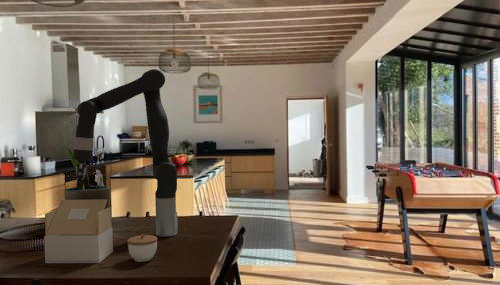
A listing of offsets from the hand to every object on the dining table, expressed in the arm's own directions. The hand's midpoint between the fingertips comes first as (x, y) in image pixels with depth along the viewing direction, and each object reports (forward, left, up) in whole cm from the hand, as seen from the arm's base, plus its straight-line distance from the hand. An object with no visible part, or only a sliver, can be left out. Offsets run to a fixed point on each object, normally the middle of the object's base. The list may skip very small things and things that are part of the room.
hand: (79, 187), depth 175 cm
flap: (-6, +15, -9) cm, 19 cm away
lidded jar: (-31, +17, -25) cm, 43 cm away
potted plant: (+14, -40, -25) cm, 49 cm away
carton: (-6, +14, -25) cm, 29 cm away
